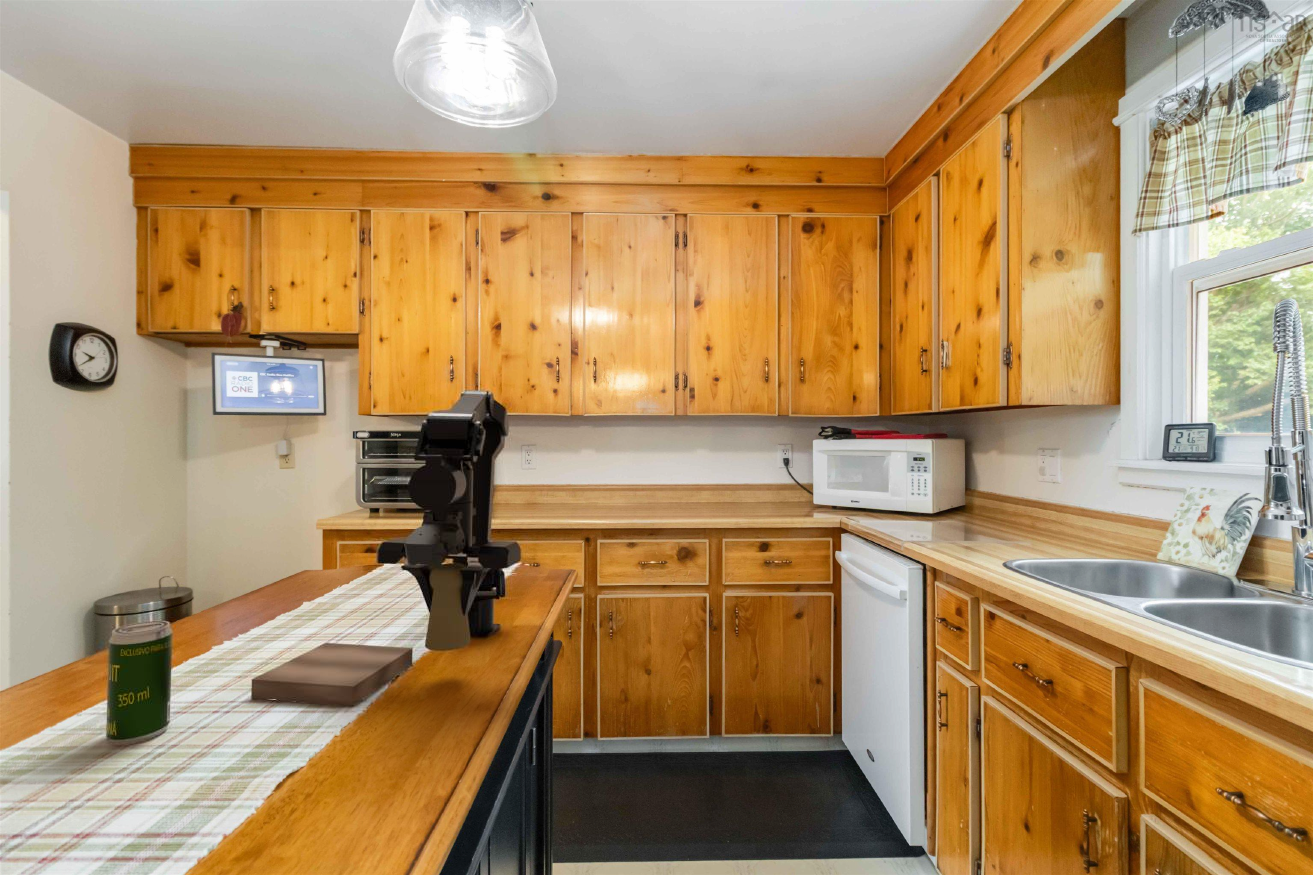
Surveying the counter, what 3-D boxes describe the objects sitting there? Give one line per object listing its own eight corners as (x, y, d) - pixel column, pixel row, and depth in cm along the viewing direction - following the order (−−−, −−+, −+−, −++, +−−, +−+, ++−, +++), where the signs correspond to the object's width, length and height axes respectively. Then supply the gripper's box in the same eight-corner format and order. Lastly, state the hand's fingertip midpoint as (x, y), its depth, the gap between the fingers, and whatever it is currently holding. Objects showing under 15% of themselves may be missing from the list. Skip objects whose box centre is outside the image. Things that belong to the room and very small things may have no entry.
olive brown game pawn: (456, 652, 78) (457, 570, 78) (415, 648, 79) (417, 567, 79) (478, 637, 83) (480, 561, 84) (440, 634, 85) (442, 558, 85)
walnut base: (325, 659, 89) (325, 642, 89) (412, 664, 87) (412, 647, 87) (251, 698, 75) (251, 679, 75) (352, 706, 73) (353, 686, 73)
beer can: (164, 718, 69) (167, 617, 69) (174, 733, 66) (177, 626, 66) (102, 735, 65) (105, 627, 65) (109, 752, 62) (113, 638, 62)
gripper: (352, 506, 74) (349, 628, 74) (492, 510, 72) (489, 636, 72) (400, 498, 85) (397, 604, 85) (523, 502, 83) (520, 611, 83)
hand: (448, 614), depth 81 cm, fingers closed on olive brown game pawn, 4 cm apart
